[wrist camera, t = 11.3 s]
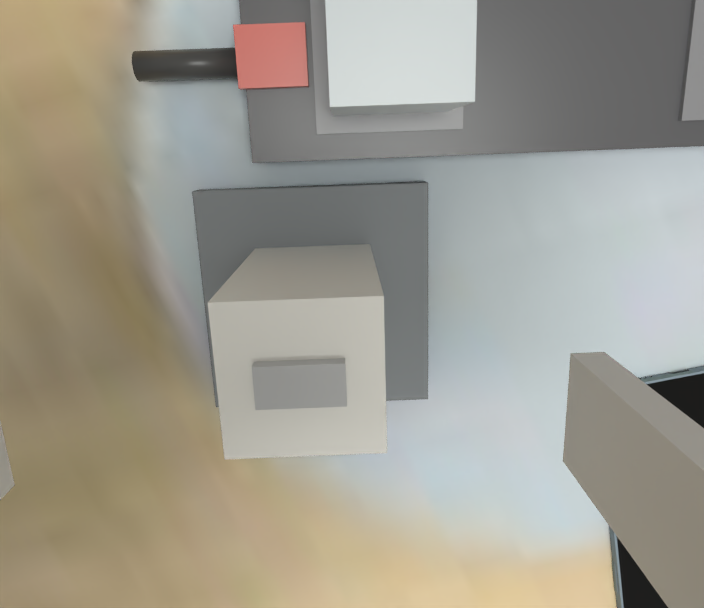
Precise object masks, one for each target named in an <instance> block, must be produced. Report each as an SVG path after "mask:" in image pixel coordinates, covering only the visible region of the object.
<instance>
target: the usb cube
mask: <svg viewBox="0 0 704 608" xmlns="http://www.w3.org/2000/svg"><path fill="white" fill-rule="evenodd" d="M325 9H326V31H327V54H328V77H329V99H330V109H331V112H332V115H333V116H344V115H371V114H398V113H425V112H447V111H450V110H453V109H455V108H458V107H461V106H464V105H467V104H470V103H473V102H475V77H476V31H477V0H325Z"/></svg>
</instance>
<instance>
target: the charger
mask: <svg viewBox="0 0 704 608" xmlns="http://www.w3.org/2000/svg"><path fill="white" fill-rule="evenodd" d="M208 312H209V321H210V331H211V340H212V349H213V358H214V367H215V376H216V385H217V395H218V404H219V413H220V422H221V431H222V440H223V450H224V459H249V458H275V457H300V456H326V455H351V454H376V453H387V420H386V374H385V327H384V295H383V291H382V287H381V284H380V280H379V276H378V272H377V269H376V265H375V261H374V257H373V254H372V250H371V246H370V244H358V245H332V246H305V247H279V248H255V249H254V250H253V252H252V253H251V254H250V255H249V256H248V257H247V258H246V259H245V261H244V262H243V263H242V264H241V265H240V266H239V267H238V269H237V270H236V271H235V272H234V273H233V274H232V275H231V277H230V278H229V279H228V280H227V281H226V282H225V283H224V284H223V286H222V287H221V288H220V289H219V290H218V291H217V292H216V294H215V295H214V296H213V297H212V298H211V299H210V300H209V302H208Z"/></svg>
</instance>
